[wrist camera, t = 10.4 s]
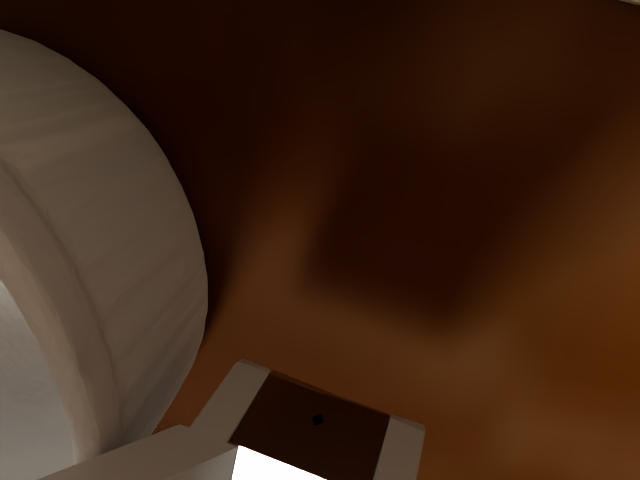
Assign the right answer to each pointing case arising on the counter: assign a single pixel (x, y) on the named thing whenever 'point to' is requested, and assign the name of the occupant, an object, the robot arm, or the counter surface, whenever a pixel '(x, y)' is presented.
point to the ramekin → (86, 268)
